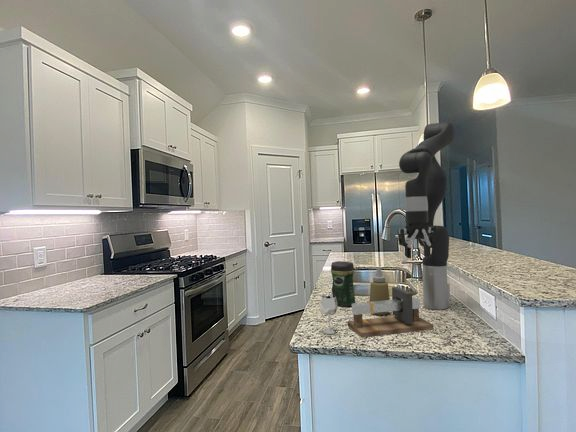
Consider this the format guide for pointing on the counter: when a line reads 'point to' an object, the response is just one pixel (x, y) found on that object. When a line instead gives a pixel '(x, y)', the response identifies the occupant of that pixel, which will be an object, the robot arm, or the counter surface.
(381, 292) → the squeeze bottle
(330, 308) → the wineglass
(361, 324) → the board
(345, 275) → the coffee jar
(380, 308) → the grey square bar
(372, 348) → the counter surface
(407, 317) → the dark grey flat piece
